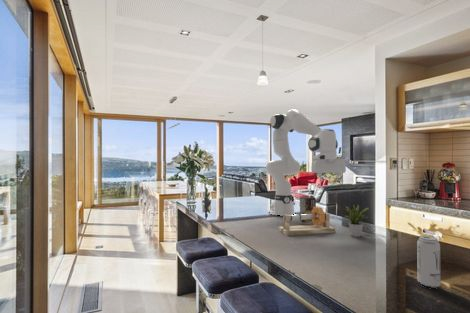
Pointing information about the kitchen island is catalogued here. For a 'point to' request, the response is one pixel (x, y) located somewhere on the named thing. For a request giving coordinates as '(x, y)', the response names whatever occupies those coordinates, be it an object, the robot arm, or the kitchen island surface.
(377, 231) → the kitchen island surface
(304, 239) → the kitchen island surface
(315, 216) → the steel pipe
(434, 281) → the energy drink can
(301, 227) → the pipe stand
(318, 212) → the orange faceted ring
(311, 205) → the coffee box
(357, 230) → the house plant
